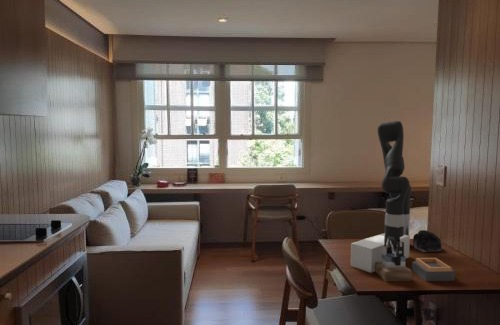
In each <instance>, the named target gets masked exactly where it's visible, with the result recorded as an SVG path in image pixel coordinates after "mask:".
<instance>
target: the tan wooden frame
mask: <svg viewBox="0 0 500 325" xmlns="http://www.w3.org/2000/svg"><path fill="white" fill-rule="evenodd" d="M411 263H412V264H411V267H412V268H411V271H412V273H414V274H416V275H417V276H419V277H420V278H421V279H423V281H425V282H452V281H453V282H455V280H456V277H455V276H456V271H455V270H454V269H453V268H452V266H450V265H448V264H446V263H445V262H443V261H442V260H440V259H438V258H437V257H415V260H414V261H412V262H411Z"/></svg>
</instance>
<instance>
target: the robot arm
mask: <svg viewBox="0 0 500 325" xmlns="http://www.w3.org/2000/svg"><path fill="white" fill-rule="evenodd" d="M377 135H378V136H377V137H378V140H379V144H380V148H381V150H382V156H383V163H384V169H385V173H384V176H383V179H382V182H381V189H382V190H383V192H384V193H386V194H388V195H389V198H388V199H386V200H385V215H384V233H385V239H384V247H386V250H387V252H386V253H392V250H393V252H394V254H395V265H396V266H400V265H401V257H404V242H400V237H402V236H403V235H408V236H410V220H411V218H410V216H411V212H410V211H411V196H412V186H411V184H410V180H409V179H408V178H407V177H406V176H402V175H403V173H404V170H405V160H404V157H403V151H404V136H405V135H404V126H403V124H402V121H399V120H398V121H397V120H394V121H387V122H382V123H379V124H378V126H377ZM391 142H394V144H393V145H391V144H390V143H391ZM386 242H387V243H386ZM391 249H392V250H391ZM396 251H397V252H396ZM401 251H402V253H401Z"/></svg>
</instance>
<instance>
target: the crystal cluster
mask: <svg viewBox="0 0 500 325" xmlns="http://www.w3.org/2000/svg"><path fill="white" fill-rule="evenodd" d="M441 241H442V240H441V239H440V237H439V236H438V235H436V234H435V233H434V232H430V231H428V230H426V229H423V230H421V229H420V230H419V231H418V232H417V233H415V234H414V235H413V239H412V244H413V246H414V247H413V248H414V249H415V250H418V251H419V252H420V251H421V252H423V253H432V252H434V253H435V252H440V251H442V250H443V249H442V248H443V247H442V246H443V245H442V243H441Z"/></svg>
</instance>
